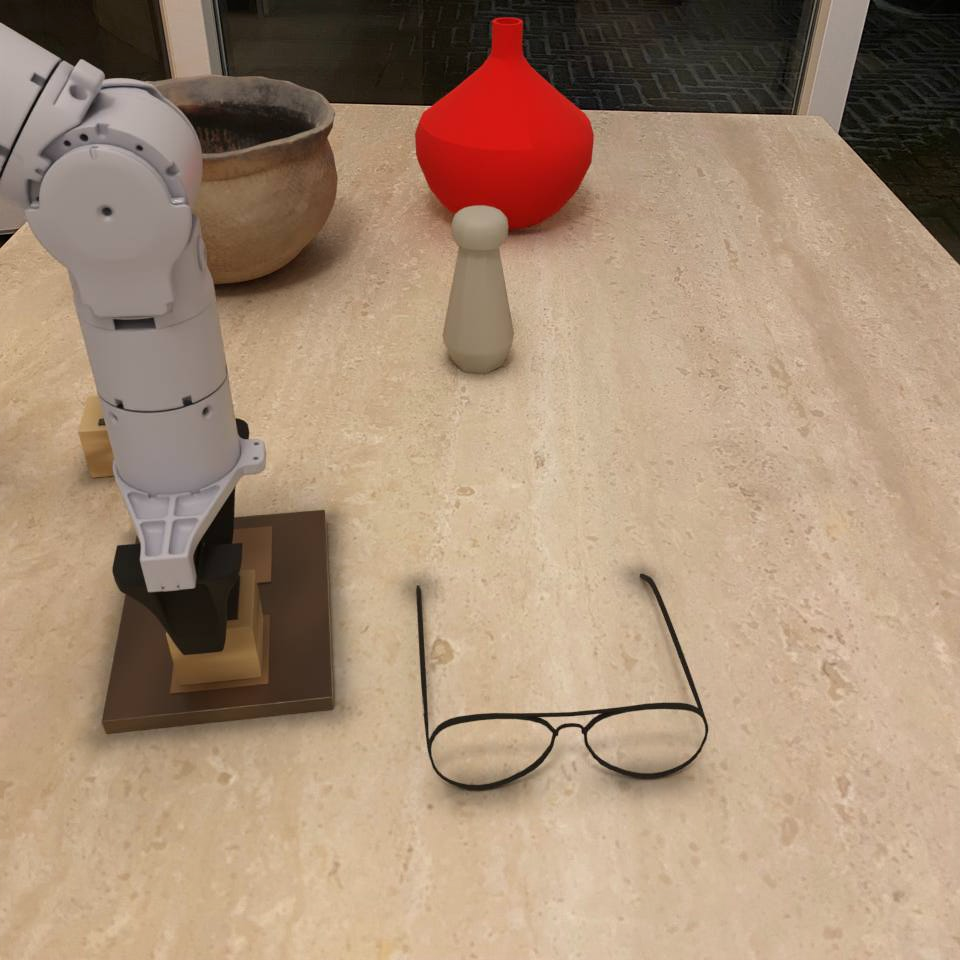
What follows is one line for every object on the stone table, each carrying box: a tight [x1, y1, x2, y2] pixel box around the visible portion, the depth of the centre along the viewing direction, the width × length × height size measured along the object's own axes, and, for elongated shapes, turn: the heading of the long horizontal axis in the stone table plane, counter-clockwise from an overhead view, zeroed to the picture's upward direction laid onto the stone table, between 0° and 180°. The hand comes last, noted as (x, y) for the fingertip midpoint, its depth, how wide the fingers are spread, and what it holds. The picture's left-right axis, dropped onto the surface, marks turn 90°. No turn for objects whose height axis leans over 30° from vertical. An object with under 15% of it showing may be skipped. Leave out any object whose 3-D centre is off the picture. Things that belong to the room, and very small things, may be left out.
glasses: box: [415, 573, 709, 791], centre depth 56 cm, size 14×15×5 cm
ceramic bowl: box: [144, 73, 339, 285], centre depth 92 cm, size 22×22×15 cm
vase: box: [414, 16, 595, 231], centre depth 101 cm, size 18×18×19 cm
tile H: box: [166, 570, 264, 685], centre depth 55 cm, size 4×4×4 cm
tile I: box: [77, 395, 114, 479], centre depth 71 cm, size 4×4×4 cm
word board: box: [101, 509, 334, 734], centre depth 59 cm, size 12×16×1 cm
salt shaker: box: [442, 205, 515, 375], centre depth 79 cm, size 6×6×13 cm
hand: (208, 595), depth 53 cm, fingers open, 7 cm apart
